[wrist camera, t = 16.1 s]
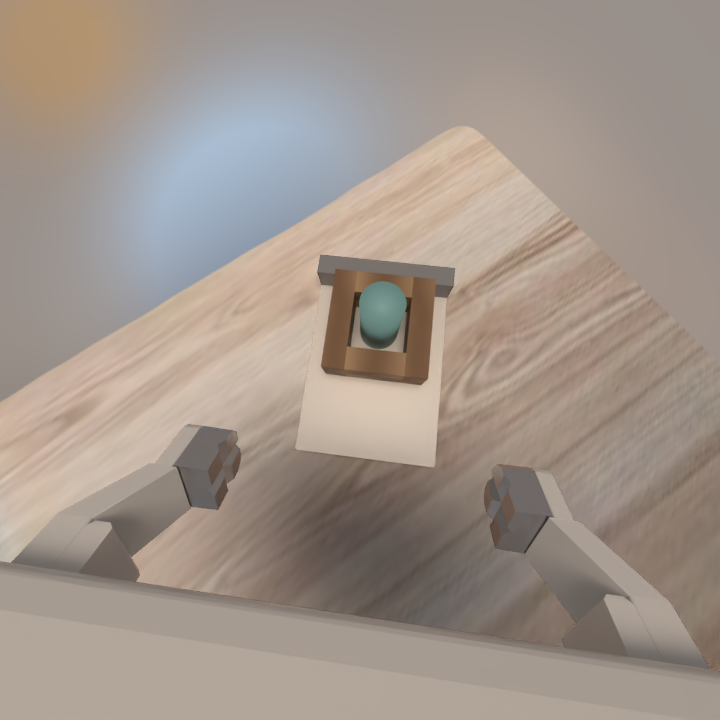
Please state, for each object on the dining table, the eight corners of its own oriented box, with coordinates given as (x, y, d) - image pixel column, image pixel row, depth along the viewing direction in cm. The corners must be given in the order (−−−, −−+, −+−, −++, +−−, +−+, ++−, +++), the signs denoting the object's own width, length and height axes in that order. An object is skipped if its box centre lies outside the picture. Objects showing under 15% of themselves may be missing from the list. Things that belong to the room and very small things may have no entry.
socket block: (428, 295, 36) (436, 279, 32) (421, 385, 34) (428, 378, 30) (338, 286, 37) (335, 268, 33) (325, 373, 35) (320, 366, 31)
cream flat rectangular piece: (445, 285, 38) (454, 268, 34) (432, 466, 34) (441, 471, 30) (325, 272, 38) (320, 254, 35) (297, 449, 34) (287, 451, 30)
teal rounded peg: (398, 315, 36) (408, 283, 28) (395, 350, 35) (404, 328, 27) (362, 312, 36) (361, 279, 28) (358, 347, 35) (356, 323, 28)
